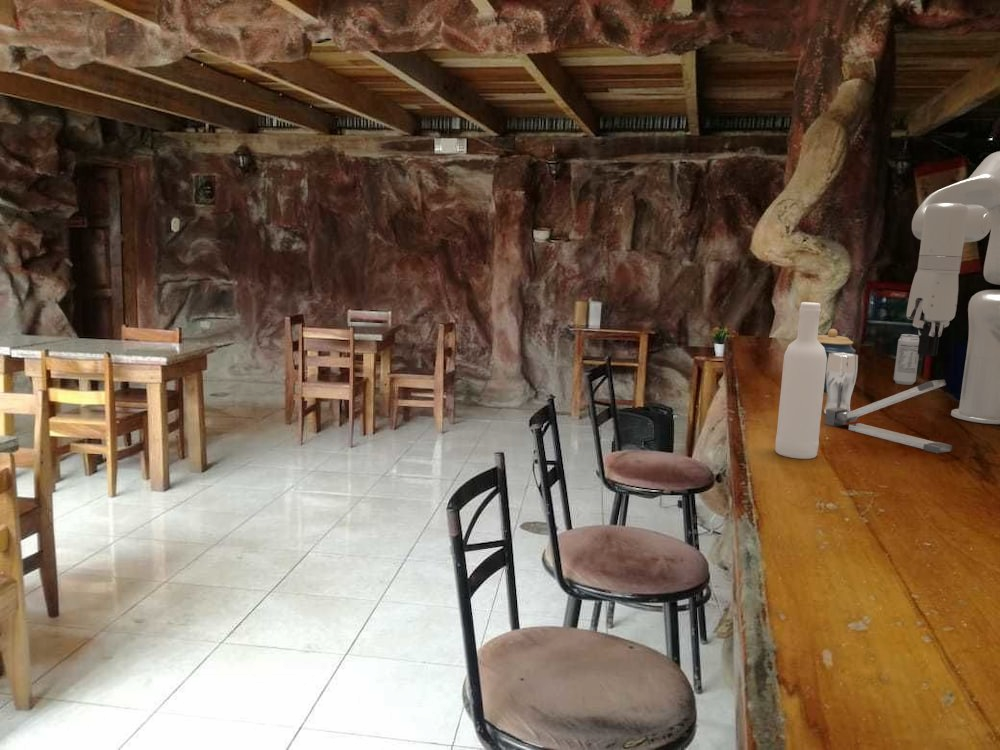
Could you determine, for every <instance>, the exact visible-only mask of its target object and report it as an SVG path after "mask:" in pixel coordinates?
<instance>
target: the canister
mask: <svg viewBox="0 0 1000 750" xmlns="http://www.w3.org/2000/svg"><path fill="white" fill-rule="evenodd" d="M838 333H839V332H838V330H837V329H835V328H830V329H829V330H828V331H827V334H818V337H817V340H818V341H819V342H820V343H821V344H822V346H823V347H824V348H825V352H826V356H827V362H828V357H829V353H833V352H839V353H850V354H856V352H857V351H856V349H854V348H853V346H852V345H853V344H854V341H853V340H850V339H849V337H847V336H841V335H838ZM826 368H827V364H826ZM823 393H827V386H826V373H825V383H824V392H823Z"/></svg>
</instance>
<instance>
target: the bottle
mask: <svg viewBox="0 0 1000 750" xmlns="http://www.w3.org/2000/svg"><path fill="white" fill-rule="evenodd" d="M798 312H799V317H798V325H797V327H798V328H797V336H796V337H797V338H795V339H794V340H793V341H792V342H791V343H789V344H788V346H787V348H786V350H785V352H784V354H783V362H782V363H783V364H782V374H781V386H780V398H779V406H778V415H777V416H778V417H777V429H776V435H775V453H777V454H778V455H780V456H783V457H786V458H791V459H796V460H797V459H798V460H799V459H800V460H810V459H814V458H816V457H817V456H818V449H819V445H820V443H819V442H820V441H819V439H820V438H819V437H820V431H821V420H822V412H823V401H824V393H825V392H824V383H825V373H826V364H827V356H826V352H825V348H824V347H823V346H822V344H821V343H820V342H819V341H818V340H817V337H818V335H819V326H820V314H821V312H822V310H821V303H820V302H812V301H811V302H809V301H802V302H801V303H800V305H799V308H798Z"/></svg>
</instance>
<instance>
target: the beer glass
mask: <svg viewBox="0 0 1000 750" xmlns="http://www.w3.org/2000/svg"><path fill="white" fill-rule="evenodd" d="M858 360H859V355H858V354H856V353H854V354H850V353H839V352H833V353H829V357H828V362H827V368H826V386H827V392H826V403H825V405H824V406H825V407H824V409H823V414H825V415H826V409H830V408H838V407H839V408H843V409H848V411H851V400H852V399H851V397H852V395H853V391H854V388H855V384H856V382H857V381H856V380H857V376H858V368H859V365H858V364H859V361H858Z"/></svg>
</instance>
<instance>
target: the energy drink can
mask: <svg viewBox="0 0 1000 750" xmlns="http://www.w3.org/2000/svg"><path fill="white" fill-rule="evenodd" d="M919 338H920V335H919V334H911V333H910V334H909V333H902V334H900V337H899V339H898V340H897V349H896V357H895V366H894V371H893V372H894V373H893V381H895V384H898V385H906V386H912V385H914V383H915V382H916V380H917V374H918V373H917V372H918V364H919V357H920V355H919V354H918V345H919Z"/></svg>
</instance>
